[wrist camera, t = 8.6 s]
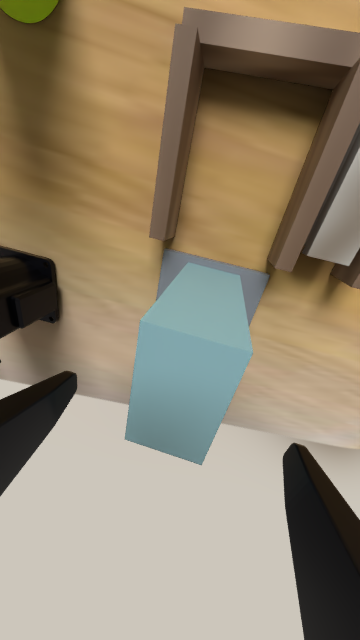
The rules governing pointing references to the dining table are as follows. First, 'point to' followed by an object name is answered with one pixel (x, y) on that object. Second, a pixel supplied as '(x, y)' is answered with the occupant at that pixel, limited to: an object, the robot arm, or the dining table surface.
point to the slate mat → (250, 278)
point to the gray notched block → (339, 213)
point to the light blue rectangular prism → (188, 362)
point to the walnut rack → (274, 63)
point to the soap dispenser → (28, 9)
